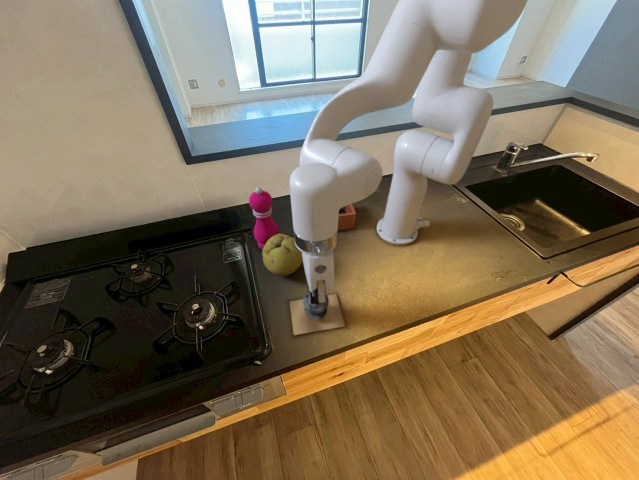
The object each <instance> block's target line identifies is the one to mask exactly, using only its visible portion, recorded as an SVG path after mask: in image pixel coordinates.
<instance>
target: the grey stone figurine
mask: <svg viewBox="0 0 639 480" xmlns="http://www.w3.org/2000/svg"><path fill="white" fill-rule="evenodd" d="M316 289H317V288H316ZM316 289H315V290H316ZM302 299H303V305H304V307H305V313H306V315H307V316H308V317H309V318H311V319H316V320H317V319H321V318H323V317H324V316H325V315H326V313H327V307H328V304H329V299H328V297H327V294H326V302H325V303H321V304H311V301H310V290H309V288H308V287H307V293H306V294H305V295H304V297H303V298H302Z"/></svg>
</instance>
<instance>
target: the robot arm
mask: <svg viewBox="0 0 639 480" xmlns="http://www.w3.org/2000/svg"><path fill="white" fill-rule="evenodd" d="M528 1H529V0H397V3H396V5H395V8H394V10H393V11H392V13H391V15H390V18H389V19H388V22H387V24H386V25H385V28H384V30H383V33H382V35H381V37H380V39H379V41H378V43H377V45H376V47H375V49H374V52H373V54H372V56H371V58H370V60H369V62H368V64H367V66H366V69H365V70H364V72H363V73H362V74H361V75H360V76H359V77H358V78H356V79H355V80H353V81H351V82H349V84H347V85H346V86H344V87H343V88H342V89H340V90H339V91H338V92H336V94H335V95H334V96H332V97H331V98H330V99H329V100H328V101H327V102H326V103H325V104H324V105H323V106H322V107H321V108H320V110H318V112H317V114H316V116H315V117H314V119H313V121H312V123H311V126H310V127H309V129H308V130H309V131H308V132H307V134H306V137H305V138H304V141H303V144H302V146H301V150H300V154H299V166H297V167H296V168H295V169H294V170H293V171H292V172H291V174H290V178H289V182H288V183H289V195H290V196H289V197H290V206H291V217H292V218H291V219H292V226H293V227H292V229H293V238H294V242H295V245H296V247H297V248H298V249H299V250H300V251H301V252H302V258H303V262H302V265H303V268H304V274H305V278H306V285H307V289H308V288H309V290H310V301H311V304H321V303H325V302H326V295H327V291H333V290H334V289H335V258H334V249H335V248H336V245H337V243H338V232H339V230H338V216H339V214H340V211H341V210H340V209H341V208H342V207H345V206H347V205H350V204H352V205H353V204H355V203H358V202H360V201H362V200H364V199H367V198H368V197H369V196H371V195H373V193H375V192H376V191H377V189H378V188H379V187H380V186H379V185H380V184H381V182H382V179H383V174H384V173H383V172H384V171H383V170H384V169H383V167H382V164H381V162H380V161H379V160H378V159H376V158H375V157H374V156H372V155H370V154H367V153H365V152H362V151H360V150H357V149H355V148H352V147H351V146H348V145H345V144H343V143H340V142H337V139H338V137H339V135H340V133H341V132H342V131H343V129H344V128H345V127H347V126H348V124H349V123H351V122H352V121H354V120H355V119H357V118H359V117H362V116H365V115H368V114H370V113H375V112H379V111H383V110H384V111H385V110H388V109H392V108H397V107H402V106H404V105H406V104H408V103H409V102H410V101H411V100H412V99H413V97H414V101H413V104H412V110H411V119H412V120H413V122H414V123H415V124H417V125H419V126H421V127H424V128H427V129H430V130H433V131H436V132H440V133H442V134H446V135H450V136H452V138H453V140H452V139H449V138H447V137H444V136H443V137H442V136H440V135H438V134H434V133H430V132H427V131H423V130H418V129H410V130H406V131H405V132H403V133H402V134H401V135H399V137H398V139H397V141H396V142H395V145H394V150H393V172H392V178H391V182H390V186H389V192H388V196H387V200H386V206H385V210H384V215H383V217H382V218H381V219H379V220H378V222H377V224H376V233H377V235H378V236H379V238H380V239H382V240H383V241H385V242H386V243H388V244H392V245H396V246H405V245H409V244H412V243H414V242H415V241H416V239H417V238H418V234H419V231H418V230H420V229H421V228H427V227H428V228H429V227H430V225H431V222H430V220H429V219H427V220H423V217H422V216H419V215H420V212H421V209H422V206H423V203H424V200H425V197H426V194H427V191H428V179H430V180H432V181H435V182H438V183H441V184H443V185H448V186H452V185H456V184H457V183H459V182H460V181H461V179H463V177H464V175H465V174H466V172H467V170H468V168H469V166H470V163H471V161H472V159H473V157H474V155H475V152H476V150H477V148H478V146H479V144H480V141H481V138H482V136H483V134H484V132H485V129H486V127H487V125H488V122H489V120H490V117H491V115H492V112H493V109H494V108H493V107H494V98H493V95H492V94H491V93H490V92H489V91H488V90H485V89H482V88H480V87H474V86H470V85H466V84H465V83H464V80H465V77H466V74H467V72H468V68H469V66H470V63H471V61H472V56H473V54H477V53H480V52H482V51H484V50H485V49H487V48H488V47H489V46H490V45H492V44H493V43H494V42H496V41H497V40H499V39H500V38H502V36H504V35H505V34H506V33H508V32H509V31H510V30H511V29H512V28H513V27H514V25H515V24H516V22H517V21H518V20H519V19H520V17H521V16H522V14H523V12H524V10H525V8H526V6H527V4H528ZM414 95H415V96H414ZM316 288H317V289H316ZM315 289H316V290H315Z"/></svg>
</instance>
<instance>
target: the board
mask: <svg viewBox="0 0 639 480" xmlns="http://www.w3.org/2000/svg"><path fill="white" fill-rule="evenodd" d="M326 295H327V294H326ZM327 297H328V299H329V304H328V307H327V313H326V315H325V316H324V317H323V318H321V319H317V320H316V319H311V318H309V317H308V316H307V315H306V313H305V307H304V305H303V299H304V298H302V299H297V300H296V299H295V300H290V301H289V308H290V316H291V325H292V332H293V337H295V336H301V335H306V334H312V333H317V332H323V331H329V330H335V329H341V328H345V327H346V325H345V321H344V320H345V319H344V317H343V313H342V309H341V306H340V302H339V298H338V295H337V293H333V294H328V295H327Z"/></svg>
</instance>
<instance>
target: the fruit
mask: <svg viewBox="0 0 639 480" xmlns="http://www.w3.org/2000/svg"><path fill="white" fill-rule="evenodd" d="M261 254H262V262H263V266H264V267H265V268H266V269H267V270H268V271H269V272H270V273H271V274H273V275H276V276H280V277H285V276H288V275H291V274H293V273H295V272H296V271H297V270H298V269H299V267H300V266H301V265H303V258H302V252H301V251H300V250H299V249H298V248H297V247H296V245H295V242H294V237H292V236H291V235H289V234H285V233H279V234H277V235H274V236H272V237H271V238H270V239H269V240H268V241H267V242H266V244H265V246H264V248H263V250H262V252H261Z"/></svg>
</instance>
